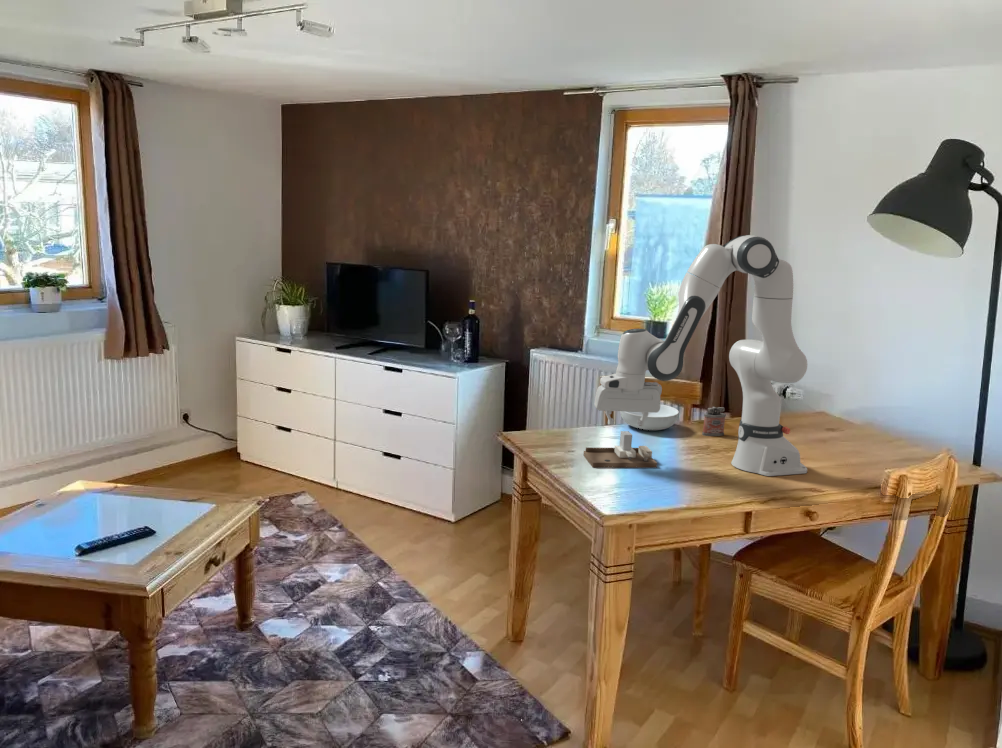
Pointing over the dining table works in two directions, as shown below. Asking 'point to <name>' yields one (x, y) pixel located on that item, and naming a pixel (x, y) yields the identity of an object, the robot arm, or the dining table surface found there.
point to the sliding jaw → (625, 446)
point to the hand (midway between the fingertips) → (625, 425)
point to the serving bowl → (653, 418)
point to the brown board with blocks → (612, 460)
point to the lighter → (714, 422)
